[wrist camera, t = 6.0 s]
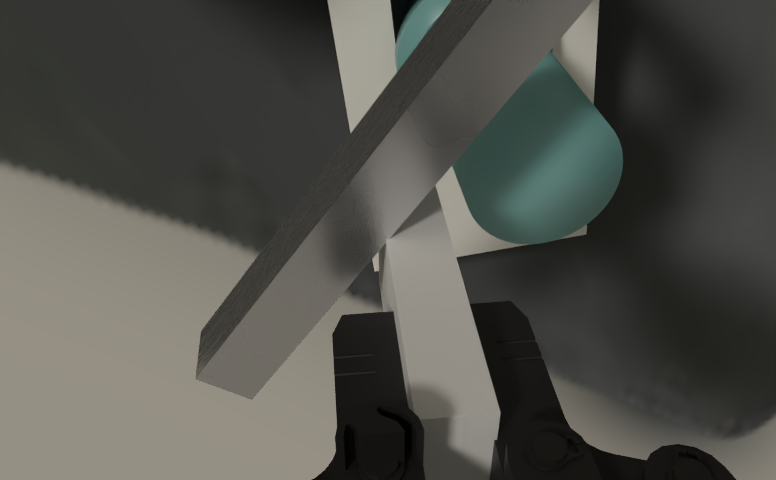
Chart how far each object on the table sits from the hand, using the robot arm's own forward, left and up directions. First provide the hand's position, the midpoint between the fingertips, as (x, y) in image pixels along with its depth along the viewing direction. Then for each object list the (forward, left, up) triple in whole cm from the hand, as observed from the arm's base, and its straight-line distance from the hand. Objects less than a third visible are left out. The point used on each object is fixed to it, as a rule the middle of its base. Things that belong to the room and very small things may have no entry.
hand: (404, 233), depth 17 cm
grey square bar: (0, -3, 0) cm, 3 cm away
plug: (-4, 0, -12) cm, 13 cm away
